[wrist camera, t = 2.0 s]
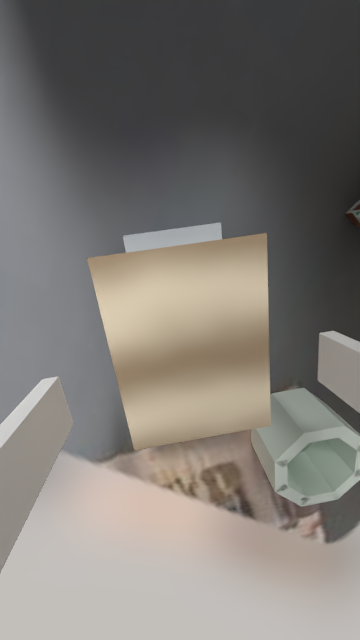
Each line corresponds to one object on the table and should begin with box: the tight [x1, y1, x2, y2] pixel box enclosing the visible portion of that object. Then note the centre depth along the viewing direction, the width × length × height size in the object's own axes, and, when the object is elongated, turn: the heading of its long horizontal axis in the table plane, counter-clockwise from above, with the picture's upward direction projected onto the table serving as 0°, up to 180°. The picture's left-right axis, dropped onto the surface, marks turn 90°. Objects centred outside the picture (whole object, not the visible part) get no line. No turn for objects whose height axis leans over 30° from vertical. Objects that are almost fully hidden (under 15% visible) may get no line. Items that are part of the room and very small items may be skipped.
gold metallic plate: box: [87, 233, 271, 451], centre depth 15 cm, size 12×9×3 cm
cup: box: [251, 388, 360, 507], centre depth 21 cm, size 8×8×5 cm
